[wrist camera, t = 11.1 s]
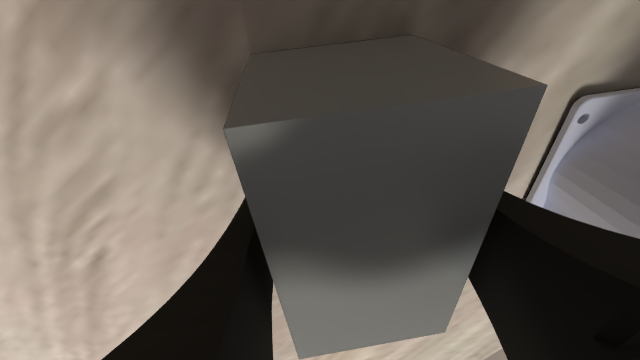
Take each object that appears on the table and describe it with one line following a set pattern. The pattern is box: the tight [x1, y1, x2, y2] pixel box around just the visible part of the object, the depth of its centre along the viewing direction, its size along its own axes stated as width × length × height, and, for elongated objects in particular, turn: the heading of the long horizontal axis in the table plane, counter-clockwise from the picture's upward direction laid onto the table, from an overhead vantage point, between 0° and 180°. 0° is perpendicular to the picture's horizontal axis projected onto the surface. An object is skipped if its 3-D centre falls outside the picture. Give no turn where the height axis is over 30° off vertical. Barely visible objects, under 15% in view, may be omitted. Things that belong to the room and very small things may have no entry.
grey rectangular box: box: [223, 35, 547, 359], centre depth 10 cm, size 10×6×6 cm, turn 5°
